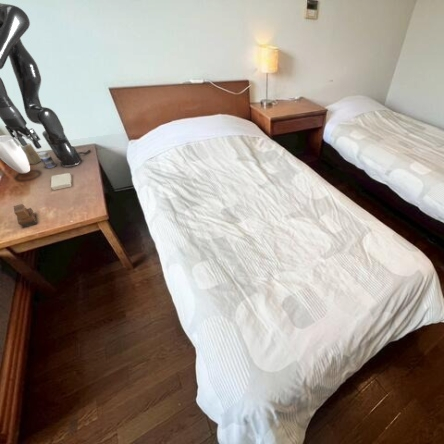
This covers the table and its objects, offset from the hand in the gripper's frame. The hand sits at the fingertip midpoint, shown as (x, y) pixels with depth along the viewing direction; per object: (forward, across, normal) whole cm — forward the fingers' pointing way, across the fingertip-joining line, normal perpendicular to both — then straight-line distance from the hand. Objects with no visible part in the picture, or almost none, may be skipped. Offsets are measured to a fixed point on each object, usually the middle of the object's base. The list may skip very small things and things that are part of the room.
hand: (32, 146), depth 129 cm
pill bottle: (+17, +8, -8) cm, 21 cm away
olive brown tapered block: (+17, +20, -8) cm, 28 cm away
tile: (+17, -12, +4) cm, 21 cm away
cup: (+17, +10, +4) cm, 21 cm away
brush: (+17, -24, +34) cm, 45 cm away
